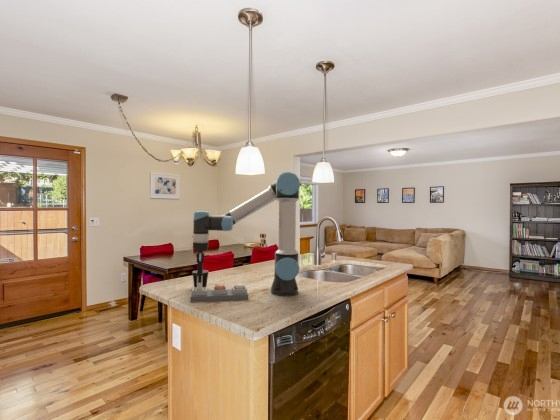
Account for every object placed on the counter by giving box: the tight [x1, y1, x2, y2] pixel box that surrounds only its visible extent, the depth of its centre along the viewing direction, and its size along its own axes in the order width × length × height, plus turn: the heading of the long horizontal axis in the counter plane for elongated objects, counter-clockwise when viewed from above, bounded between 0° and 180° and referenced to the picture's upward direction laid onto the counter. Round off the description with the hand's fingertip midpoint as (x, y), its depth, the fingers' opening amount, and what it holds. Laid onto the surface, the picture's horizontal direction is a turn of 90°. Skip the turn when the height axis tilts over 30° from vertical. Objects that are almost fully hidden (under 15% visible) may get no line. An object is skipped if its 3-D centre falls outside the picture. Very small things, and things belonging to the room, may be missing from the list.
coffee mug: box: [192, 269, 209, 287], centre depth 175 cm, size 12×9×10 cm
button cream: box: [234, 283, 245, 289], centre depth 161 cm, size 5×5×2 cm
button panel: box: [190, 285, 249, 303], centre depth 159 cm, size 28×12×5 cm, turn 103°
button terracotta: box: [214, 283, 226, 290], centre depth 159 cm, size 5×5×2 cm
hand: (199, 288), depth 157 cm, fingers closed
